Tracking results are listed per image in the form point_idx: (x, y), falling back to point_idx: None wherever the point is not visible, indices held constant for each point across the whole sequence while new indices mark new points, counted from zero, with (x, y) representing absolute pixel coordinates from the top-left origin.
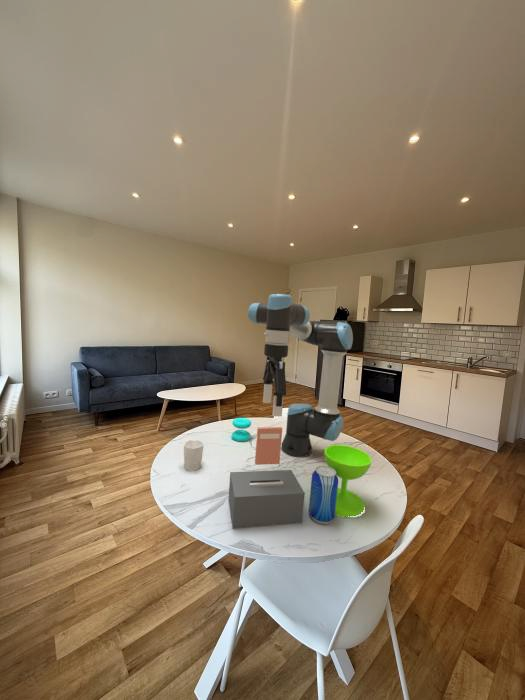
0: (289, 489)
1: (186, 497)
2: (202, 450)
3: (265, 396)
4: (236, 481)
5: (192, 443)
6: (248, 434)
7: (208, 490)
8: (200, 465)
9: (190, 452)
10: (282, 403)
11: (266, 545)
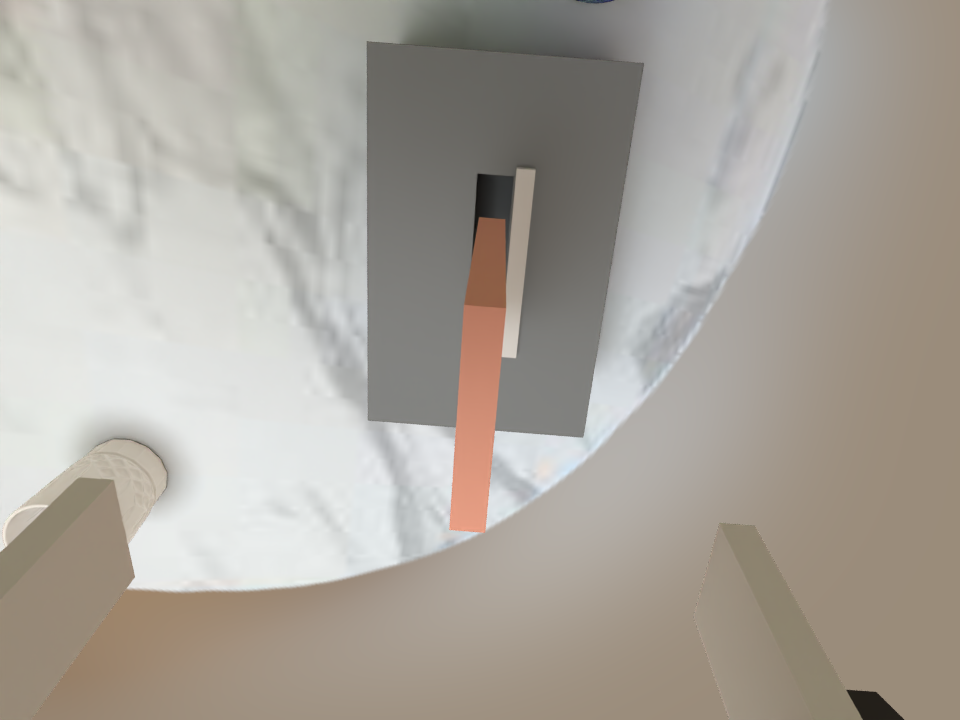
0: (585, 147)
1: (363, 501)
2: None
3: (67, 640)
4: None
5: None
6: None
7: (321, 424)
8: (129, 447)
9: None
10: (845, 698)
11: (686, 270)
